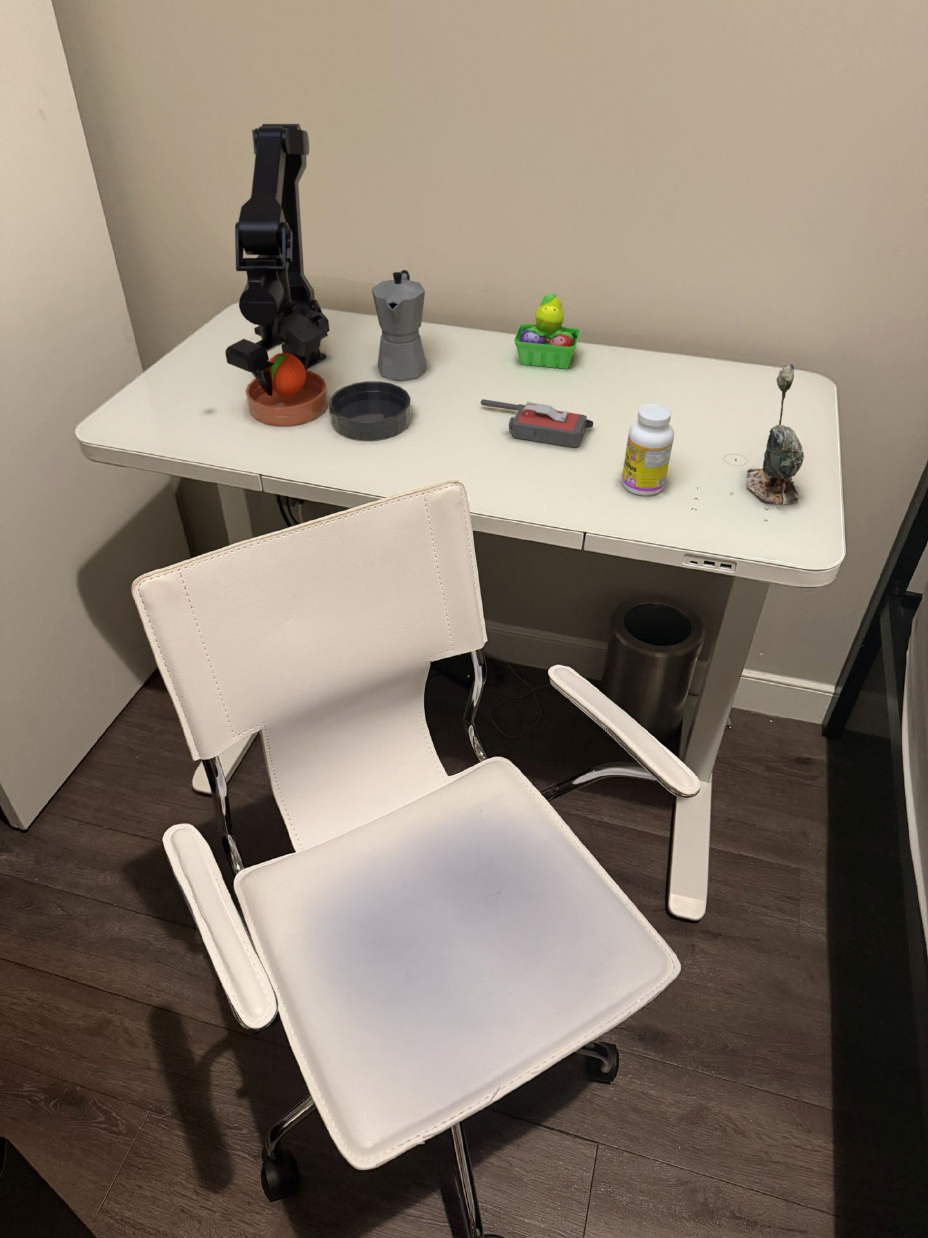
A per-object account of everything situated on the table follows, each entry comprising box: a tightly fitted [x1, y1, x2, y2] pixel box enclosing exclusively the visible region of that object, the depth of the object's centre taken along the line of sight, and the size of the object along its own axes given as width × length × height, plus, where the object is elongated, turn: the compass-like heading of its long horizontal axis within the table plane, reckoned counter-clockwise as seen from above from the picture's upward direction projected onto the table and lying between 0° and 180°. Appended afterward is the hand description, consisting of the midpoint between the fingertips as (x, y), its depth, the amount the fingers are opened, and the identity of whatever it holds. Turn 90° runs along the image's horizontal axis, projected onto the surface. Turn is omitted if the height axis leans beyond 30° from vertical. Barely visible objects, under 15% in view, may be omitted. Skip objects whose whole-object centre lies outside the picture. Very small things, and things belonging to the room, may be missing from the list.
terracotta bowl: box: [245, 369, 329, 427], centre depth 154 cm, size 14×14×4 cm
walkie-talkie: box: [480, 398, 594, 448], centre depth 148 cm, size 9×4×20 cm
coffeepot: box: [371, 269, 428, 382], centre depth 159 cm, size 15×9×18 cm, turn 174°
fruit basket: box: [514, 293, 581, 370], centre depth 164 cm, size 11×9×11 cm
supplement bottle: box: [621, 403, 675, 496], centre depth 133 cm, size 7×7×13 cm
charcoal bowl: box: [328, 380, 412, 442], centre depth 150 cm, size 14×14×4 cm
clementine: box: [268, 352, 306, 395], centre depth 151 cm, size 8×7×7 cm
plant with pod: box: [746, 363, 805, 505], centre depth 129 cm, size 8×11×20 cm
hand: (286, 385), depth 152 cm, fingers closed on clementine, 7 cm apart
